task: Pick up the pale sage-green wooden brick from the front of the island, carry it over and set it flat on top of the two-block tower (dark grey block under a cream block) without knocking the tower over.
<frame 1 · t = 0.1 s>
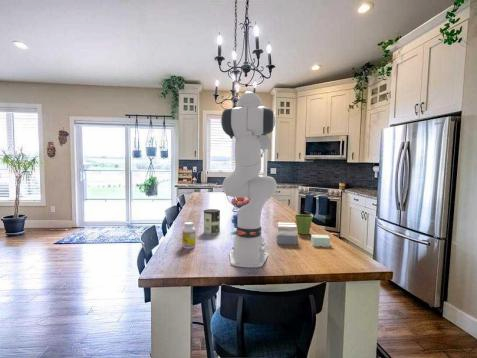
hand: (253, 157, 157), 48 cm above the kitchen island, tool pointing down, fingers open, 8 cm apart
grapes: (240, 231, 174), on the kitchen island
coffee can: (211, 232, 170), on the kitchen island
supplement bottle: (188, 247, 141), on the kitchen island
grey base block: (286, 241, 153), on the kitchen island, touching cream top block
plant pot: (303, 233, 171), on the kitchen island
sage brick: (320, 245, 147), on the kitchen island
cream top block: (286, 233, 153), point 5 cm above the kitchen island, touching grey base block
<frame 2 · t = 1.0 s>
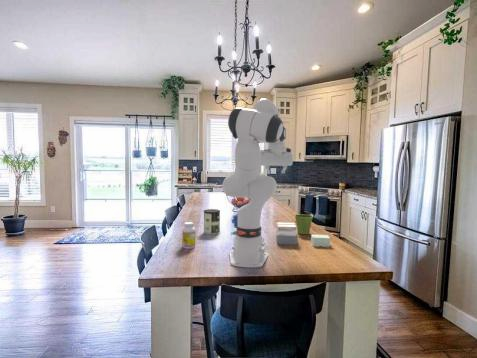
hand: (276, 173, 153), 38 cm above the kitchen island, tool pointing down, fingers open, 8 cm apart
grey base block: (286, 241, 153), on the kitchen island
cream top block: (286, 233, 153), point 5 cm above the kitchen island
everything else where it was.
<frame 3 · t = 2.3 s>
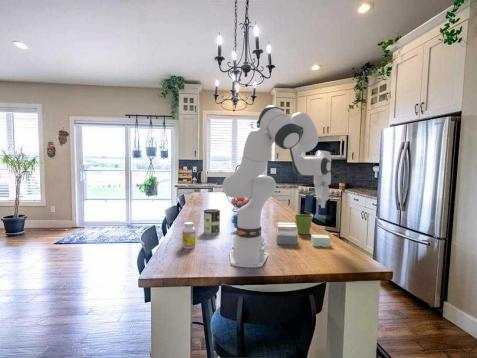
hand: (321, 206, 146), 21 cm above the kitchen island, tool pointing down, fingers open, 8 cm apart
grey base block: (286, 241, 153), on the kitchen island, touching cream top block
cream top block: (286, 233, 153), point 5 cm above the kitchen island, touching grey base block
everything else where it was.
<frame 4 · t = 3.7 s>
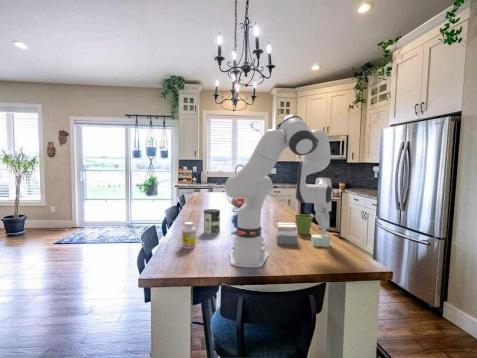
hand: (322, 232, 146), 7 cm above the kitchen island, tool pointing down, fingers open, 8 cm apart
nothing on the kitchen island moved.
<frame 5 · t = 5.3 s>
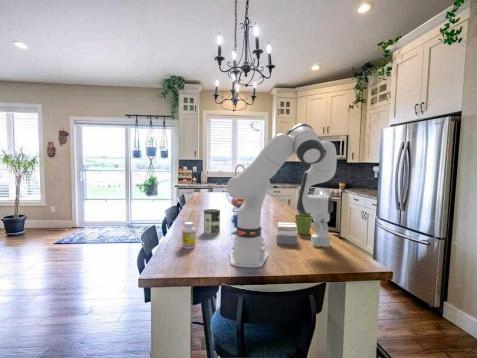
hand: (320, 241, 147), 2 cm above the kitchen island, tool pointing down, fingers closed on sage brick, 6 cm apart
sage brick: (320, 244, 147), on the kitchen island, touching gripper
everything else where it was.
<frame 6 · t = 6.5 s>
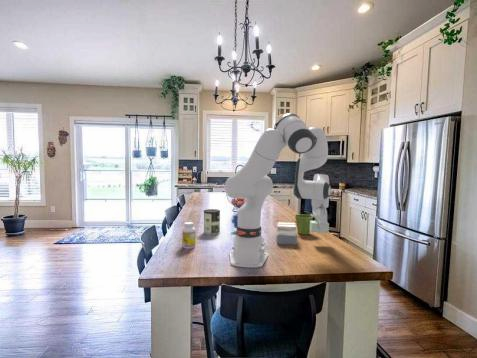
hand: (319, 228, 148), 9 cm above the kitchen island, tool pointing down, fingers closed on sage brick, 6 cm apart
sage brick: (318, 231, 148), point 7 cm above the kitchen island, touching gripper
everything else where it was.
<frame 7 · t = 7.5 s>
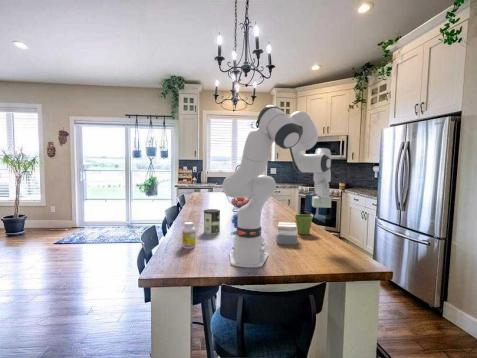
hand: (321, 203, 146), 23 cm above the kitchen island, tool pointing down, fingers closed on sage brick, 6 cm apart
sage brick: (321, 206, 146), point 21 cm above the kitchen island, touching gripper
everything else where it was.
when the fingers open (13 cm above the kitchen island, at t = 11.3 s): sage brick drops 1 cm, resting on cream top block.
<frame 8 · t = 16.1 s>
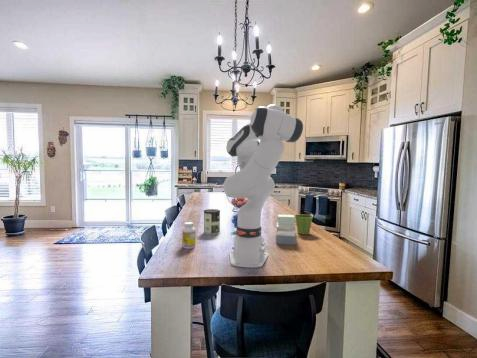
hand: (244, 185, 158), 31 cm above the kitchen island, tool pointing down, fingers open, 8 cm apart
sage brick: (285, 224, 153), point 10 cm above the kitchen island, touching cream top block
cream top block: (285, 233, 152), point 5 cm above the kitchen island, touching grey base block, sage brick
everything else where it was.
at the end: sage brick 0.6 cm off-centre on the cream top block, point 5.0 cm above the cream top block's base; sage brick tilted 0°; cream top block 0.3 cm off-centre on the grey base block, point 5.0 cm above the grey base block's base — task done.
